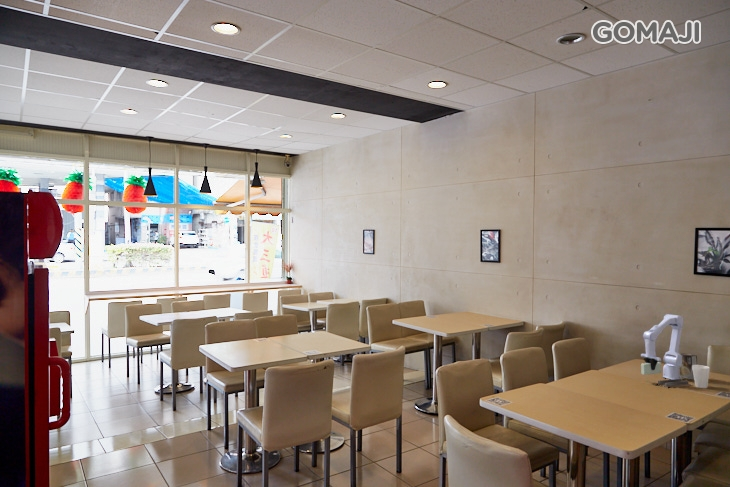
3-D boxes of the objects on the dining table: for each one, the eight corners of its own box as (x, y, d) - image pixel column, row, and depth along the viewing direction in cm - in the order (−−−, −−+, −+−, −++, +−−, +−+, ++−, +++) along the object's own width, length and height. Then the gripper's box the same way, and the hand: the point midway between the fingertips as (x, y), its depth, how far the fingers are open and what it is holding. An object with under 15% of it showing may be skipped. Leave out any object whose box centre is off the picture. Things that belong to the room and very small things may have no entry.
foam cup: (710, 389, 295) (709, 369, 296) (692, 387, 301) (691, 367, 301) (710, 385, 303) (709, 365, 303) (693, 383, 309) (692, 364, 309)
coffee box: (698, 378, 320) (697, 355, 320) (693, 380, 317) (692, 356, 318) (684, 375, 328) (683, 352, 329) (679, 376, 326) (678, 354, 326)
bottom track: (656, 384, 310) (656, 380, 310) (678, 381, 314) (678, 378, 314) (668, 388, 301) (668, 384, 301) (690, 385, 305) (690, 381, 305)
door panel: (641, 373, 315) (640, 363, 315) (658, 372, 318) (657, 361, 318) (644, 374, 312) (643, 364, 312) (661, 373, 315) (661, 362, 316)
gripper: (636, 347, 321) (637, 367, 321) (654, 351, 307) (655, 372, 307) (645, 346, 323) (646, 366, 323) (663, 351, 309) (664, 371, 309)
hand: (651, 369), depth 315 cm, fingers closed on door panel, 2 cm apart
